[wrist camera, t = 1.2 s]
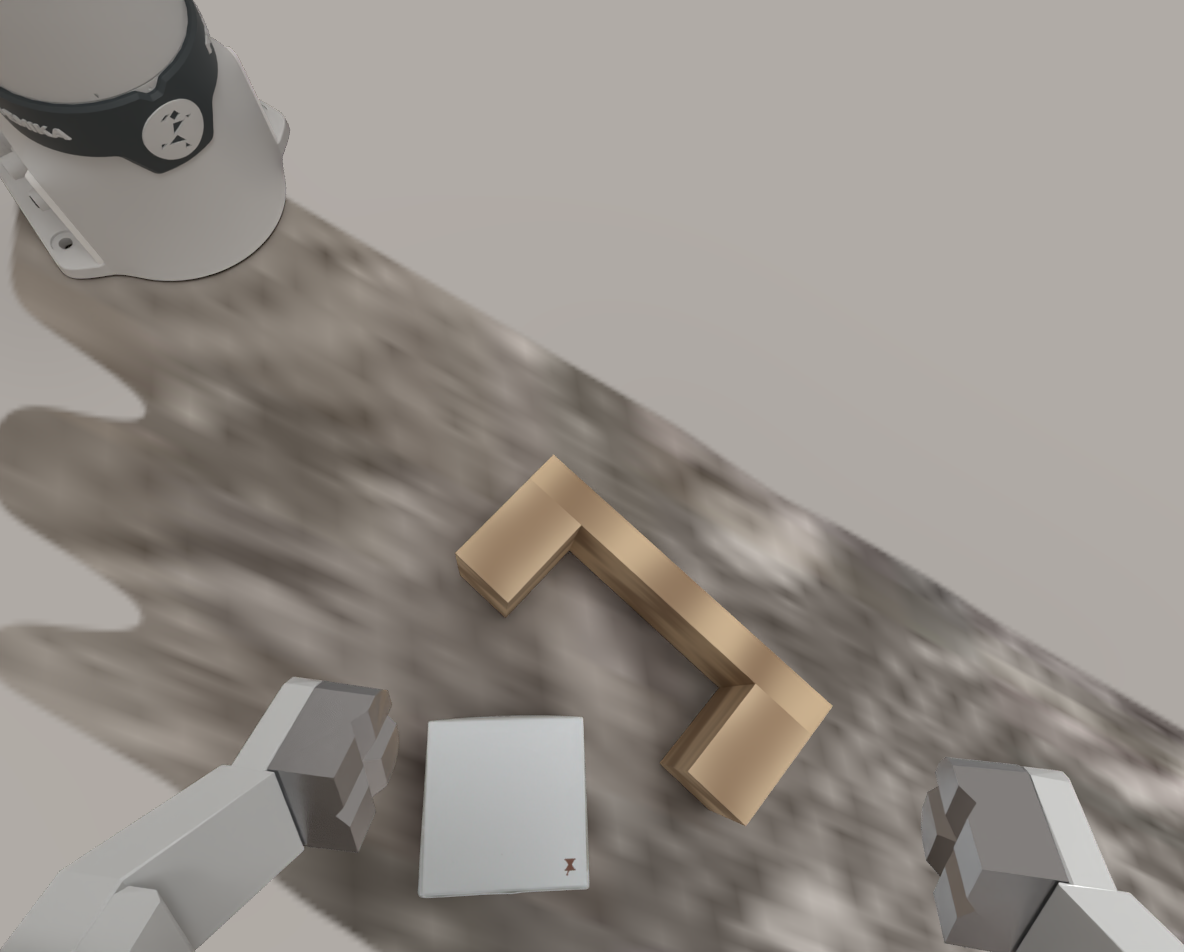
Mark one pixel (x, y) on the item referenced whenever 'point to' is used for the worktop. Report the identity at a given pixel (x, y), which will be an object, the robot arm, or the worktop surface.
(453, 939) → the worktop surface
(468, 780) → the supplement box
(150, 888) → the robot arm
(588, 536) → the oak rack
